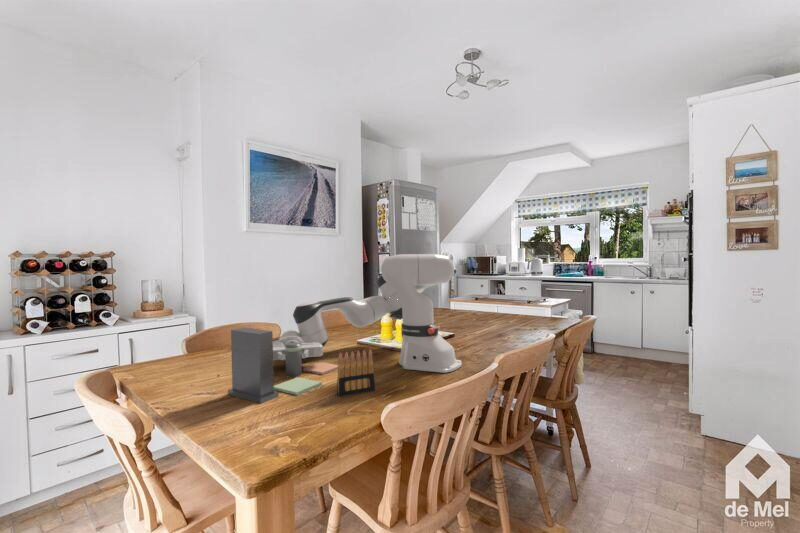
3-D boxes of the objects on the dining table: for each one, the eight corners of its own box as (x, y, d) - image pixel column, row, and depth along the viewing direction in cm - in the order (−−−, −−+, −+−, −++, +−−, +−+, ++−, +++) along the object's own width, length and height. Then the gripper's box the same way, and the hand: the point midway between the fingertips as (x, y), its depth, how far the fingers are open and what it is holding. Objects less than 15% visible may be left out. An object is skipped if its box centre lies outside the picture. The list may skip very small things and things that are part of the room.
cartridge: (305, 373, 128) (304, 343, 128) (293, 378, 123) (292, 347, 123) (294, 371, 131) (293, 342, 130) (282, 375, 126) (281, 345, 126)
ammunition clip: (338, 396, 107) (337, 353, 106) (336, 394, 108) (336, 352, 108) (375, 390, 111) (374, 349, 111) (372, 388, 113) (372, 347, 113)
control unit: (278, 396, 108) (277, 331, 107) (260, 403, 102) (259, 335, 102) (246, 387, 115) (244, 326, 114) (227, 394, 110) (226, 330, 109)
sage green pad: (321, 384, 117) (321, 382, 117) (297, 395, 108) (296, 392, 108) (298, 379, 122) (297, 377, 122) (272, 389, 113) (272, 386, 113)
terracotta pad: (340, 367, 134) (340, 365, 134) (322, 374, 126) (322, 372, 126) (321, 364, 139) (321, 362, 139) (302, 370, 131) (302, 368, 131)
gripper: (321, 353, 142) (326, 363, 129) (262, 358, 136) (261, 369, 123) (321, 336, 142) (325, 344, 129) (262, 341, 136) (260, 350, 123)
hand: (293, 357), depth 126 cm, fingers closed on cartridge, 5 cm apart
